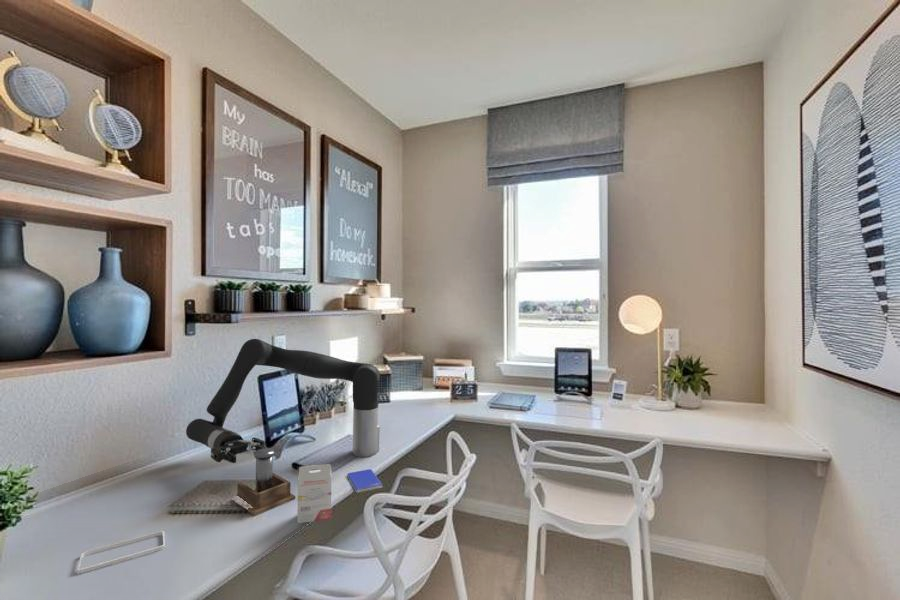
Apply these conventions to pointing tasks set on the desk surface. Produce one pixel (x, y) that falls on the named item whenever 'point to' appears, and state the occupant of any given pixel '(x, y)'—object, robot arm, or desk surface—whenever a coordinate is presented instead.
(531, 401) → the desk surface
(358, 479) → the hard drive
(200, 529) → the desk surface
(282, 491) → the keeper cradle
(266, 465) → the pin
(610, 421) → the desk surface
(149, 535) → the rectangular frame
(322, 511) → the ink cartridge box
